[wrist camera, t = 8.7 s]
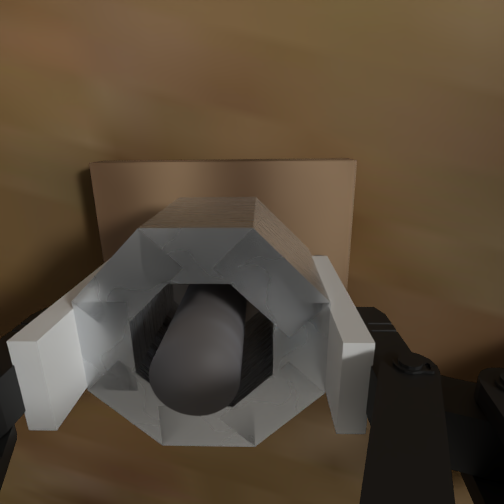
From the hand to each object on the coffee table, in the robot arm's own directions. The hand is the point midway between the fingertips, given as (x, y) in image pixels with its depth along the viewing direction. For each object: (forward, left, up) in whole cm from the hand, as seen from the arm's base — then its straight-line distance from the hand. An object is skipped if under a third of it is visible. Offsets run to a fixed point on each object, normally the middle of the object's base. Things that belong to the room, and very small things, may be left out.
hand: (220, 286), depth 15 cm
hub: (0, 0, 0) cm, 0 cm away
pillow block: (0, 0, -4) cm, 4 cm away
